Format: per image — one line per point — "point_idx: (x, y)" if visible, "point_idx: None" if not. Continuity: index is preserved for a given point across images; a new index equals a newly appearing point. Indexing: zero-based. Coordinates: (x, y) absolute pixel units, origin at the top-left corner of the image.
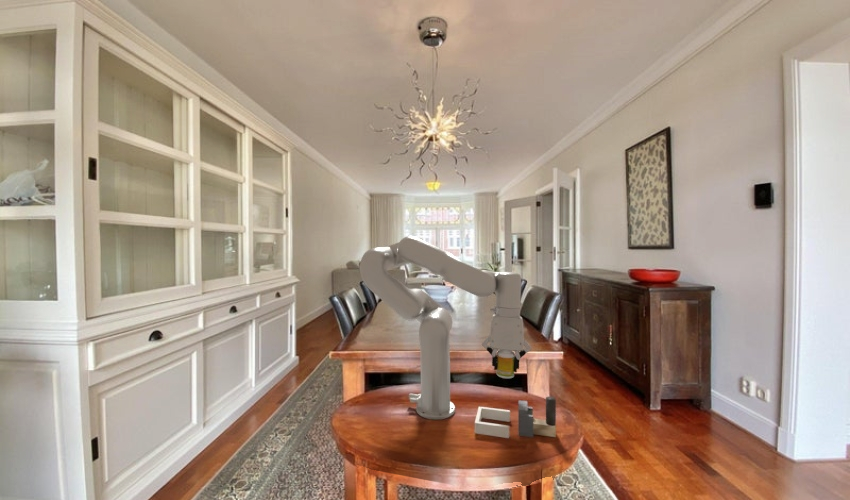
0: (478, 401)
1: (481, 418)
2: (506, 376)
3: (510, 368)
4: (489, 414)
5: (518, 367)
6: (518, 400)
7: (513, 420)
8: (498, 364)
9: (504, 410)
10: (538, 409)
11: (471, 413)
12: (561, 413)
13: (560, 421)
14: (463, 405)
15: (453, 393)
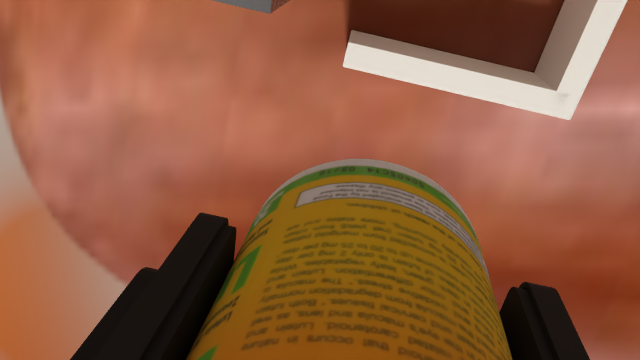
0: (493, 269)
1: (540, 60)
2: (369, 164)
3: (290, 235)
4: (489, 67)
5: (145, 277)
6: (271, 5)
7: (324, 48)
8: (505, 344)
9: (385, 62)
10: (152, 181)
11: (586, 130)
12: (29, 138)
13: (38, 46)
14: (607, 226)
15: (623, 356)
